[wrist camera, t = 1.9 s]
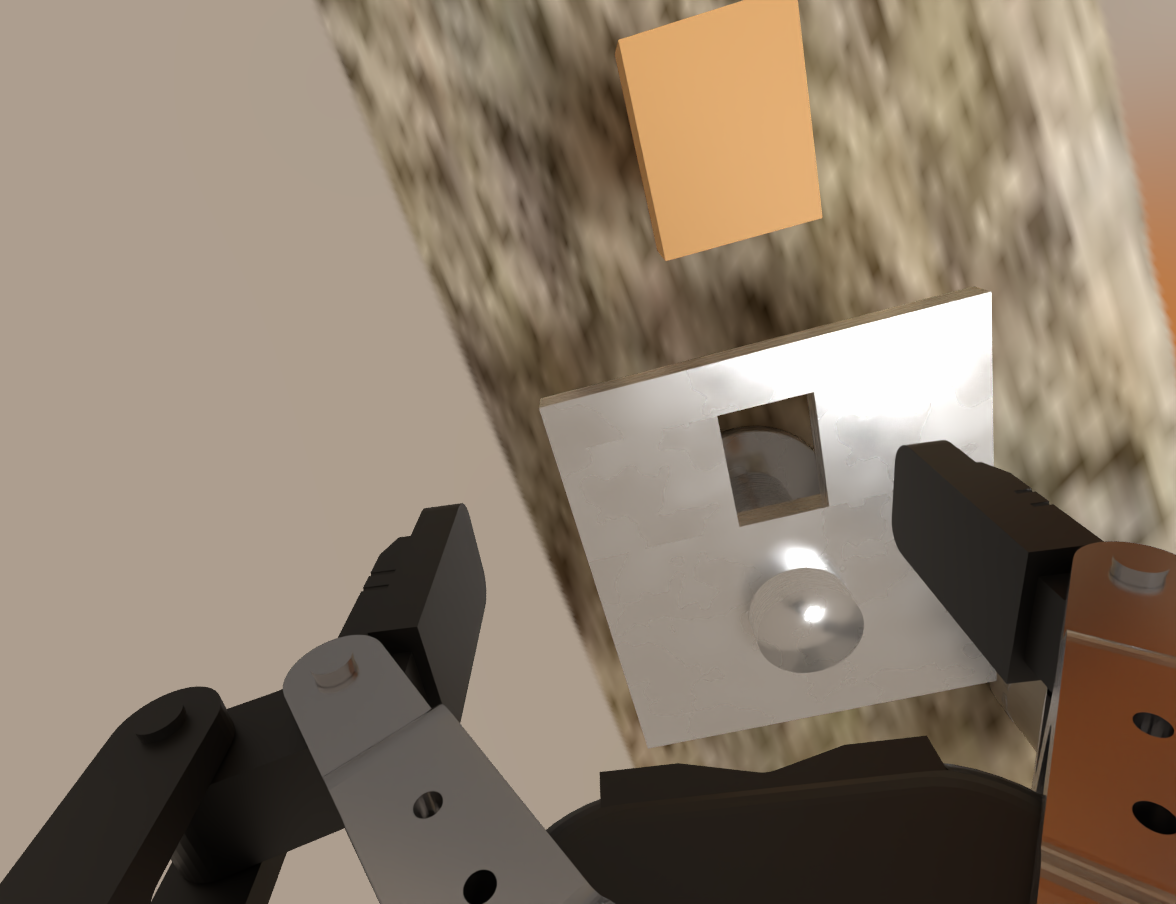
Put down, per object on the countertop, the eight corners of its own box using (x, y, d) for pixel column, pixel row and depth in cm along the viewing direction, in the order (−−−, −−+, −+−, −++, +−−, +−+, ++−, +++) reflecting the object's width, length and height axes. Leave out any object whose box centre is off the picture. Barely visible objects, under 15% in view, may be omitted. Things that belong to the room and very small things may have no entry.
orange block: (721, 48, 31) (795, -17, 20) (745, 200, 33) (822, 217, 22) (607, 83, 31) (618, 39, 20) (640, 229, 34) (666, 261, 23)
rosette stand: (873, 254, 35) (1016, 300, 23) (899, 558, 42) (1015, 705, 31) (552, 340, 36) (535, 422, 25) (634, 616, 44) (650, 774, 33)
